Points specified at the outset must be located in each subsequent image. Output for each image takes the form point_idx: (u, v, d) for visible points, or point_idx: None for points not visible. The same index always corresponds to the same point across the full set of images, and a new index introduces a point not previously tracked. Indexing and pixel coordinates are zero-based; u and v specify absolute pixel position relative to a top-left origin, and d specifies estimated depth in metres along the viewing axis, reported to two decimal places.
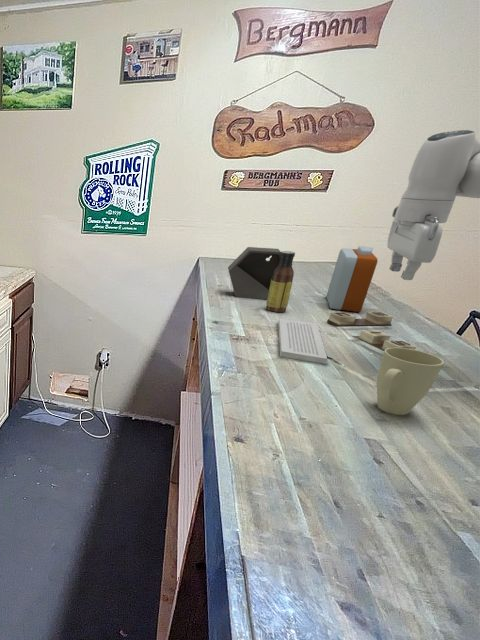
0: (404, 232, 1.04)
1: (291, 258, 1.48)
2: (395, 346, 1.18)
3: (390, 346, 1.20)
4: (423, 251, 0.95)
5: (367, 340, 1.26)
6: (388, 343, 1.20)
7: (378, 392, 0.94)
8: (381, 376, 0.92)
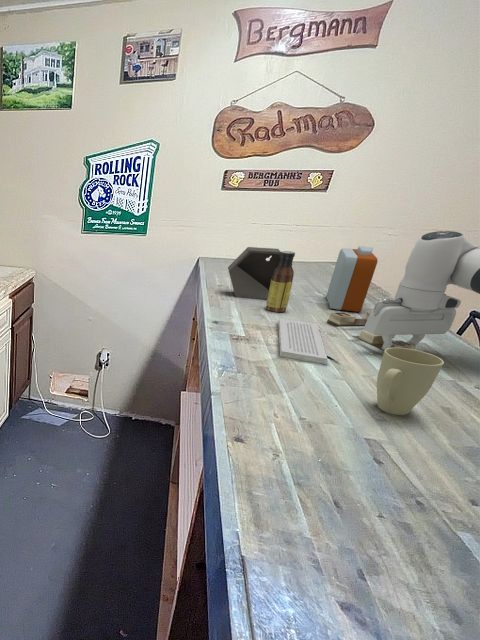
0: None
1: (291, 258, 1.48)
2: (395, 346, 1.18)
3: None
4: (369, 324, 1.17)
5: (367, 340, 1.26)
6: None
7: (378, 392, 0.94)
8: (381, 376, 0.92)
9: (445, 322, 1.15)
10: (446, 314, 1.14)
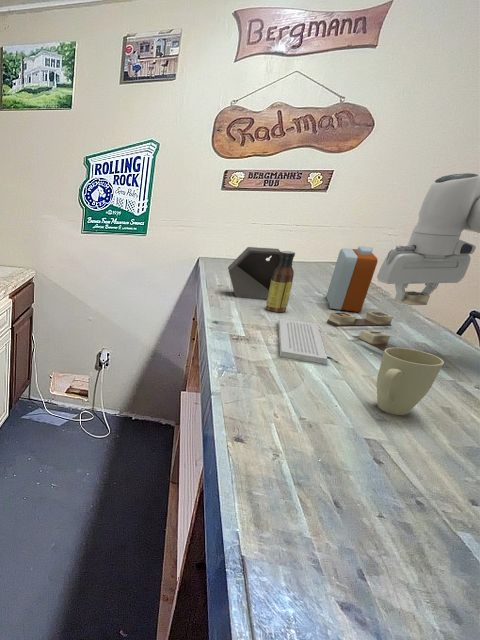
0: None
1: (291, 258, 1.48)
2: (408, 296, 1.15)
3: None
4: (382, 273, 1.14)
5: (367, 340, 1.26)
6: None
7: (378, 392, 0.94)
8: (381, 376, 0.92)
9: (459, 269, 1.13)
10: (460, 261, 1.12)
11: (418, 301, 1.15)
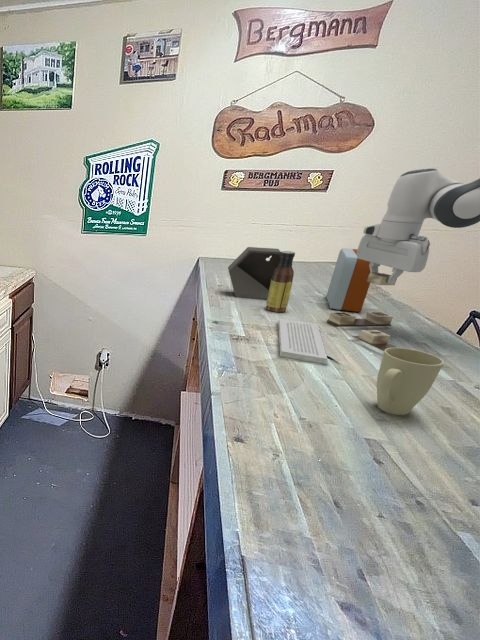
0: (383, 247, 1.30)
1: (291, 258, 1.48)
2: None
3: None
4: (418, 263, 1.20)
5: (367, 340, 1.26)
6: (385, 278, 1.30)
7: (378, 392, 0.94)
8: (381, 376, 0.92)
9: None
10: None
11: None
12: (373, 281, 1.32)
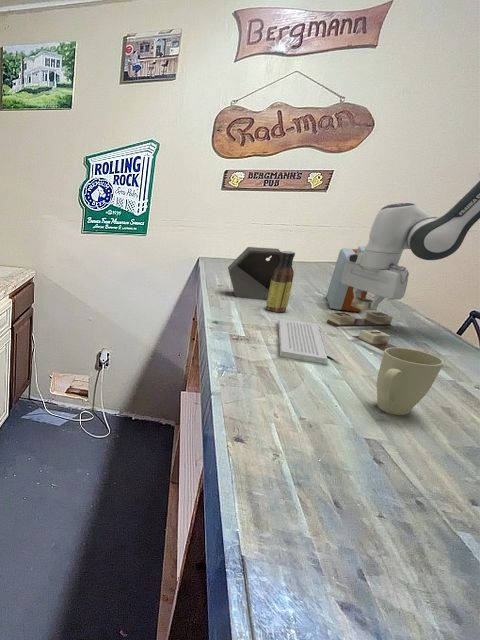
0: (365, 274, 1.38)
1: (291, 258, 1.48)
2: None
3: None
4: (398, 292, 1.29)
5: (367, 340, 1.26)
6: (368, 303, 1.38)
7: (378, 392, 0.94)
8: (381, 376, 0.92)
9: None
10: None
11: None
12: (356, 306, 1.40)
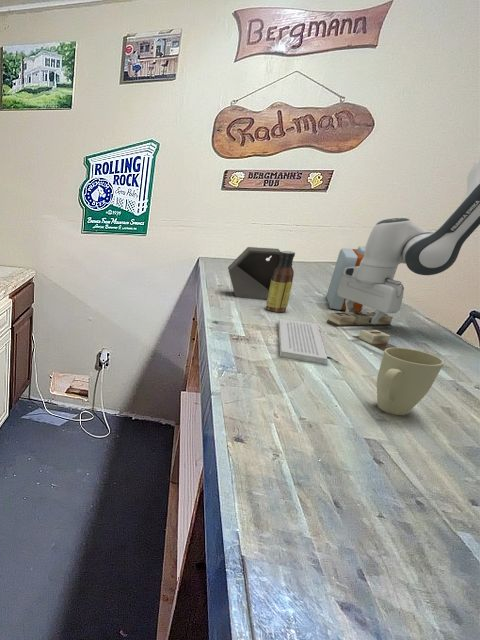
0: (361, 288, 1.40)
1: (291, 258, 1.48)
2: None
3: (366, 319, 1.40)
4: (394, 306, 1.30)
5: (367, 340, 1.26)
6: (363, 318, 1.40)
7: (378, 392, 0.94)
8: (381, 376, 0.92)
9: None
10: None
11: None
12: None
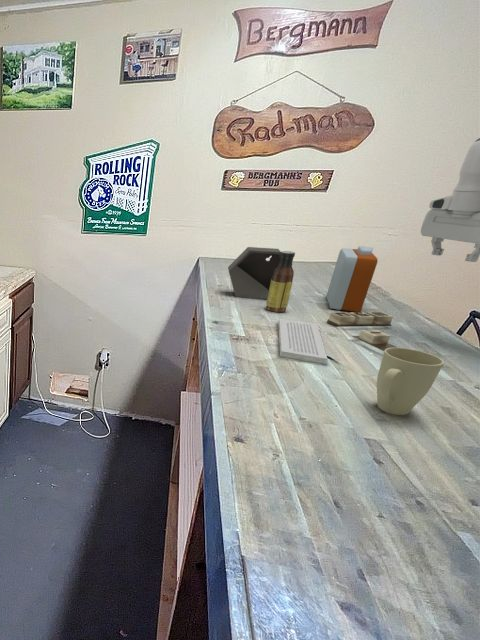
0: (454, 221, 1.19)
1: (291, 258, 1.48)
2: (370, 317, 1.40)
3: (366, 319, 1.40)
4: None
5: (367, 340, 1.26)
6: (363, 318, 1.40)
7: (378, 392, 0.94)
8: (381, 376, 0.92)
9: None
10: None
11: None
12: None
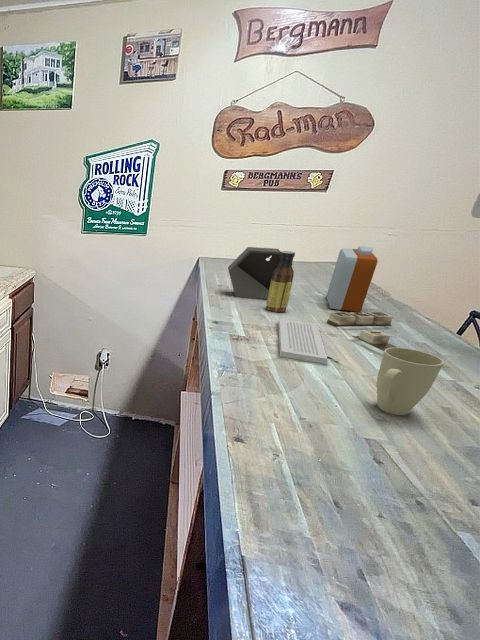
0: None
1: (291, 258, 1.48)
2: (370, 317, 1.40)
3: (366, 319, 1.40)
4: None
5: (367, 340, 1.26)
6: (363, 318, 1.40)
7: (378, 392, 0.94)
8: (381, 376, 0.92)
9: None
10: None
11: None
12: None
